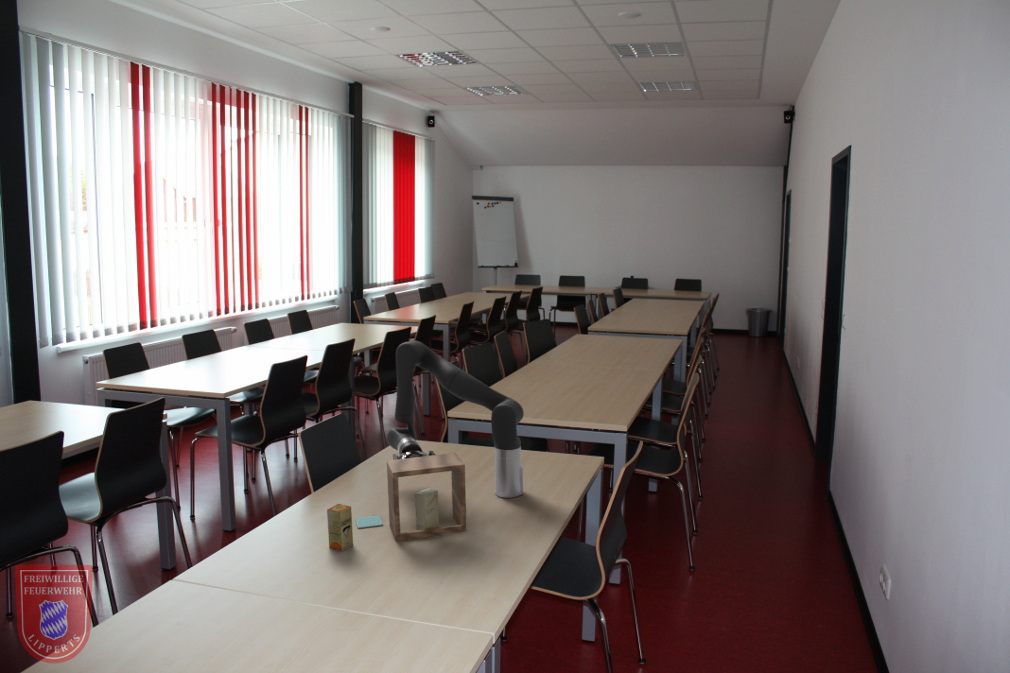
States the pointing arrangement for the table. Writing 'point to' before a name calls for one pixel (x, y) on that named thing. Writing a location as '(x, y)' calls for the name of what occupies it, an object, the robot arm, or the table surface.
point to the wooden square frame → (426, 467)
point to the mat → (368, 521)
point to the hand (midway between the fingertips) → (418, 465)
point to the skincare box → (426, 509)
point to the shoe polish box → (340, 527)
